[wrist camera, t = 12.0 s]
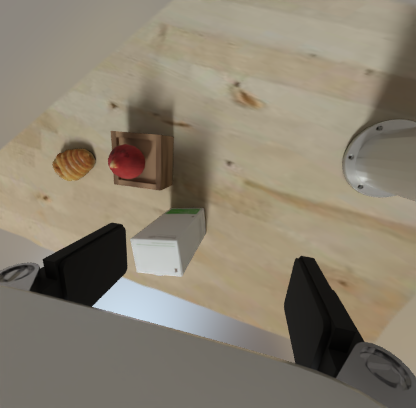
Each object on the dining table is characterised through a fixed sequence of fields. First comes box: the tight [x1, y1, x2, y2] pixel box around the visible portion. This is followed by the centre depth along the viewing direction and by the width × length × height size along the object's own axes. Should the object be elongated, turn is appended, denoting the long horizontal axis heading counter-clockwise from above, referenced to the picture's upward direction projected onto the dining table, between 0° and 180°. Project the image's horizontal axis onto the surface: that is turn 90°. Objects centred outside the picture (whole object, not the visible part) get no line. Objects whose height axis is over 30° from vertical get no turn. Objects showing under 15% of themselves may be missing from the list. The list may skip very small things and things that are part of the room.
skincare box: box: [130, 208, 206, 277], centre depth 36 cm, size 8×7×16 cm
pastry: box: [52, 149, 95, 181], centre depth 44 cm, size 9×7×4 cm
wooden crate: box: [111, 131, 174, 190], centre depth 39 cm, size 10×10×6 cm
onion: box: [108, 144, 145, 179], centre depth 33 cm, size 6×6×8 cm
